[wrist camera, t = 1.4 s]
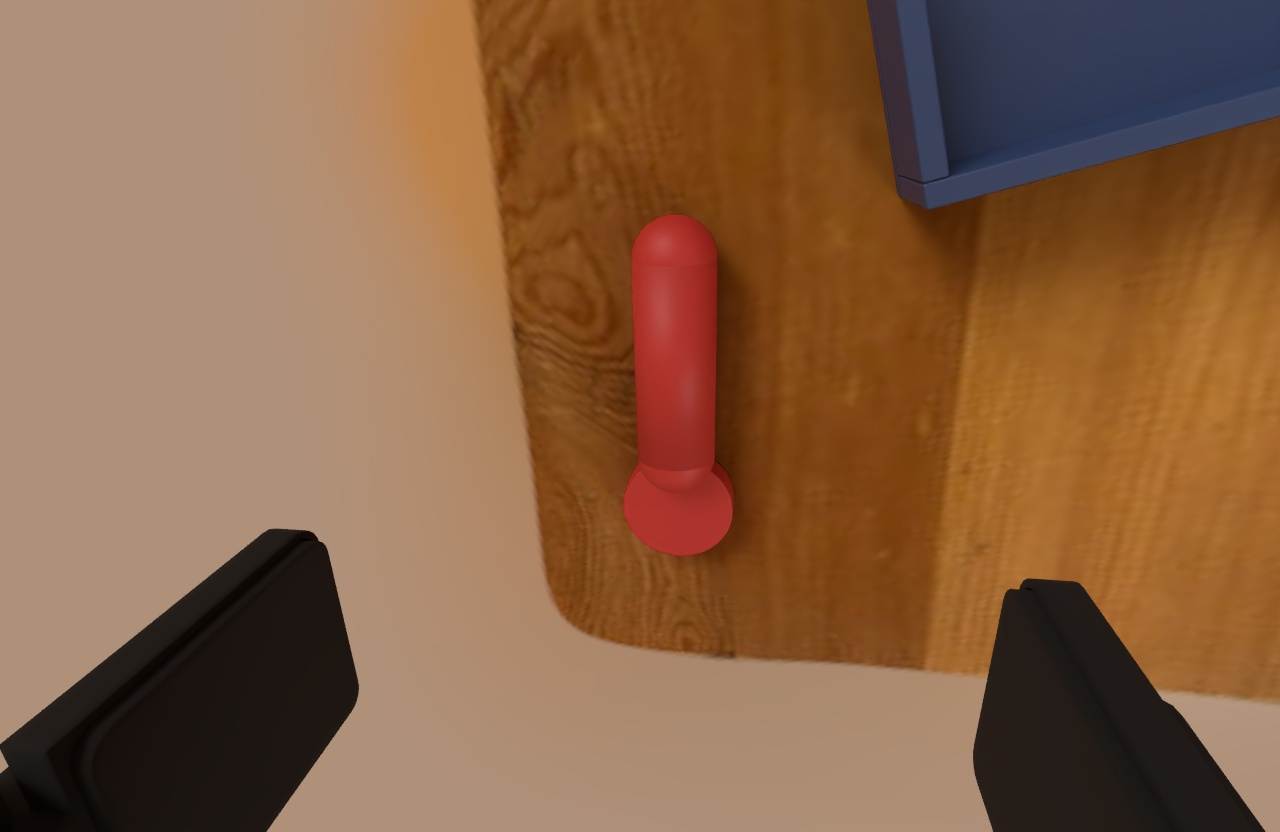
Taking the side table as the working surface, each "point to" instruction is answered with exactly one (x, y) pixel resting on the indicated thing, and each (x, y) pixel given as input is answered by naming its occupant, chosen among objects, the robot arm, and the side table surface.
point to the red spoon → (676, 391)
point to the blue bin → (1062, 84)
